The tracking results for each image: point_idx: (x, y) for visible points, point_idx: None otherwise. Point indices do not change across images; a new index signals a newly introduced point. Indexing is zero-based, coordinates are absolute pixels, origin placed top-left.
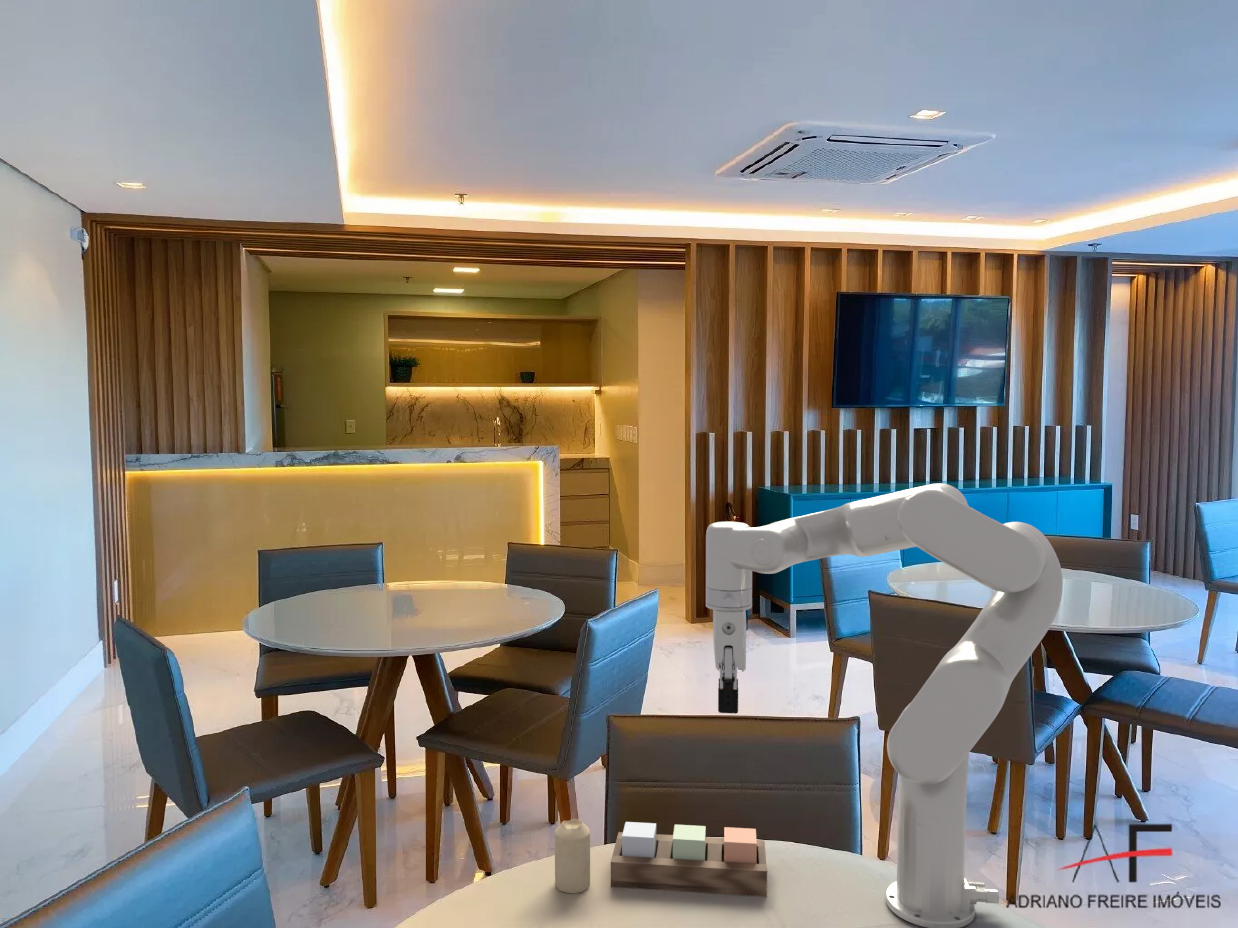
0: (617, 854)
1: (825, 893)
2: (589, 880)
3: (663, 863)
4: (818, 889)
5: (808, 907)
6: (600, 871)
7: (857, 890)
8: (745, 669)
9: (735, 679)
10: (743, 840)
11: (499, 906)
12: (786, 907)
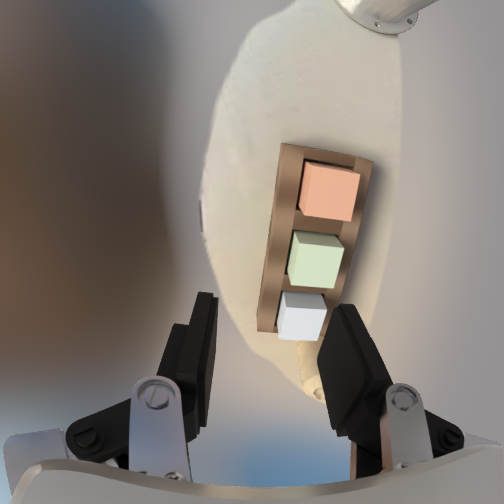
0: None
1: (353, 85)
2: (320, 338)
3: (339, 285)
4: (345, 90)
5: (382, 115)
6: None
7: (345, 47)
8: (501, 447)
9: (424, 433)
10: (349, 192)
11: None
12: (381, 140)
